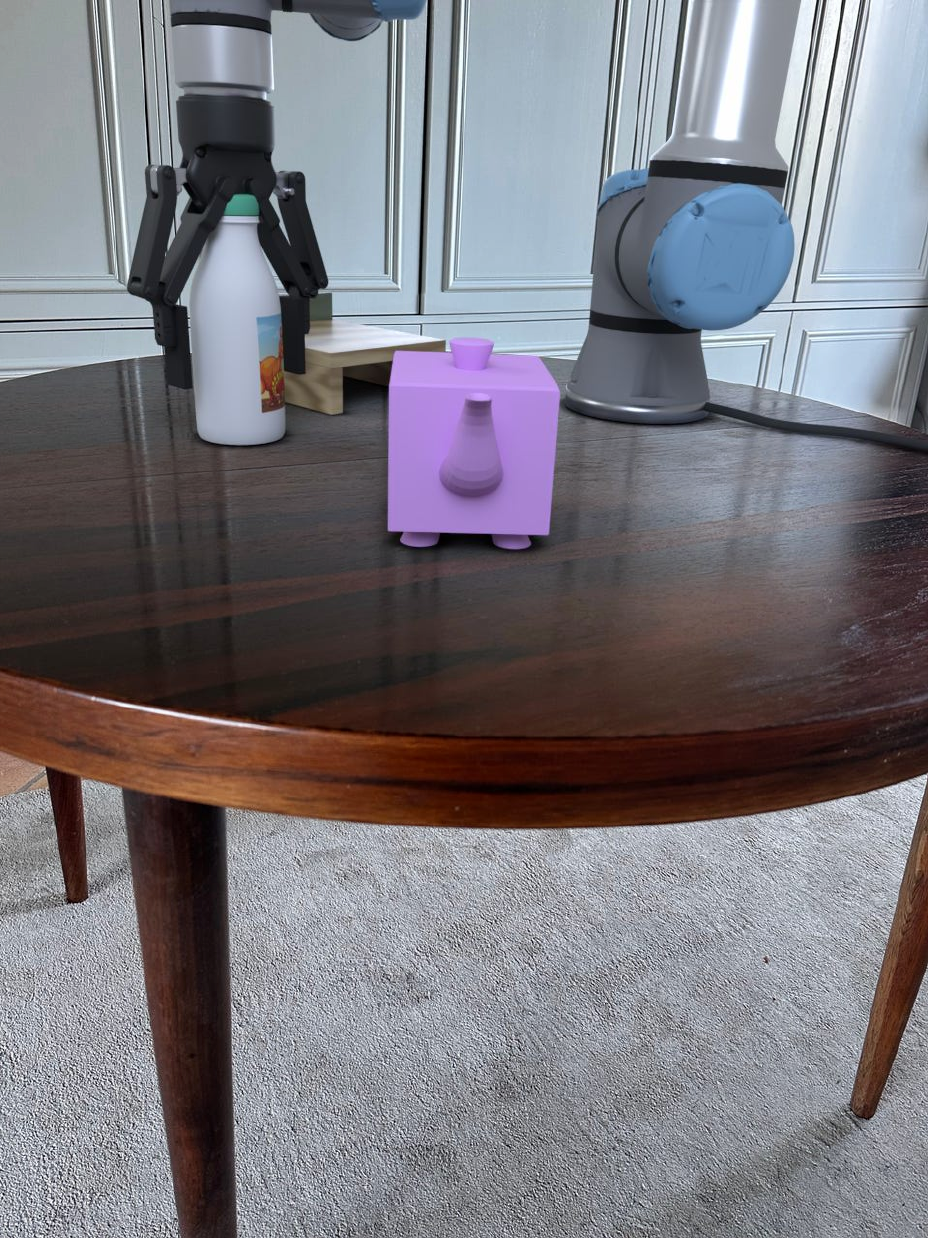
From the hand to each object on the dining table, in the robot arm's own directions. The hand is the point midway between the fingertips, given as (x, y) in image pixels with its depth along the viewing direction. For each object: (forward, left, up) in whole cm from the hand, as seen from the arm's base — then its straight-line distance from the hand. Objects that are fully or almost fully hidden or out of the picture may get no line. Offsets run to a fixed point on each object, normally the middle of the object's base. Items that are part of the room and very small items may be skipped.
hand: (239, 379), depth 86 cm
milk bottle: (0, 0, -5) cm, 5 cm away
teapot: (-31, +4, -5) cm, 32 cm away
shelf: (+12, -20, -5) cm, 24 cm away
